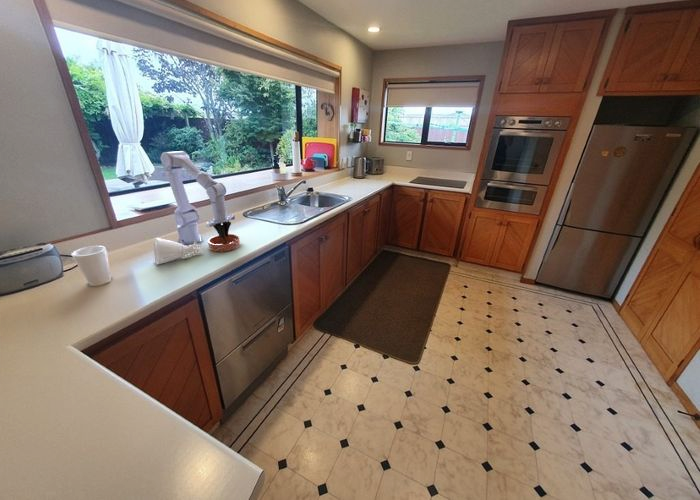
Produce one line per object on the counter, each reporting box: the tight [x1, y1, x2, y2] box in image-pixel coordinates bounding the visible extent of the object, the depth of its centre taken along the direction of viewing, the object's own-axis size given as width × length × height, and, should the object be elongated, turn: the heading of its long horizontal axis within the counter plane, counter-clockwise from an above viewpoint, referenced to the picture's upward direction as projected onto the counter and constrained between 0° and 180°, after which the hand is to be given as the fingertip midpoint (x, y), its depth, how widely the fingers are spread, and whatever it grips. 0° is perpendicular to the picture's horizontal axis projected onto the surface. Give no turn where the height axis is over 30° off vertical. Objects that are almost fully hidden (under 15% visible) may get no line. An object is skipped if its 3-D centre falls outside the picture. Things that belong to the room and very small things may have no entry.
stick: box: [221, 224, 227, 244], centre depth 136 cm, size 2×2×10 cm
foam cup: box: [70, 245, 112, 287], centre depth 104 cm, size 10×9×13 cm
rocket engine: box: [153, 237, 203, 265], centre depth 126 cm, size 12×12×18 cm
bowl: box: [207, 233, 241, 253], centre depth 140 cm, size 14×14×4 cm
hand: (223, 236), depth 137 cm, fingers closed on stick, 2 cm apart
